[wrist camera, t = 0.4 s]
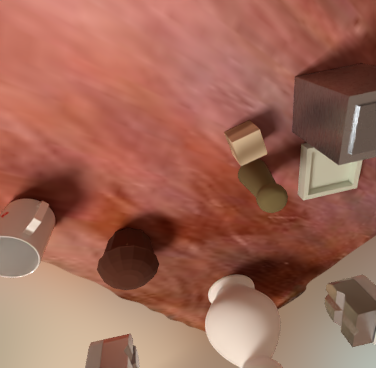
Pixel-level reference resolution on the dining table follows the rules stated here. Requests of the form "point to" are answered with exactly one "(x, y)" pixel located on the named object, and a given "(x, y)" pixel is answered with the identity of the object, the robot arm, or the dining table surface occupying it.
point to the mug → (24, 236)
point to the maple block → (246, 142)
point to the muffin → (128, 260)
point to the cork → (263, 186)
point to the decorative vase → (242, 323)
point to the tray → (324, 174)
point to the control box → (338, 112)
